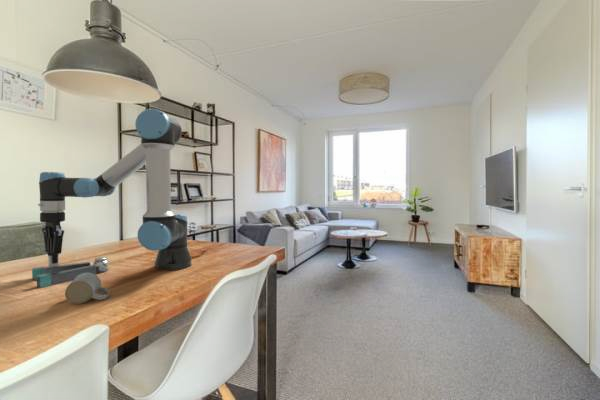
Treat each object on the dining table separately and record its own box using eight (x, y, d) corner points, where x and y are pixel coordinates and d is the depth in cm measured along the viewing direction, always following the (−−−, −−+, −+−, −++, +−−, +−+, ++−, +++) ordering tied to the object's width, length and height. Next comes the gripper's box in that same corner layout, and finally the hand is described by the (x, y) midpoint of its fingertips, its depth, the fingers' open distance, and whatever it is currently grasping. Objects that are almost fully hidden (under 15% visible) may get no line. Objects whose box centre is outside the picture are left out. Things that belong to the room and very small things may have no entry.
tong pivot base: (104, 269, 124) (103, 258, 123) (112, 271, 121) (111, 260, 120) (32, 284, 103) (32, 272, 103) (40, 287, 100) (39, 275, 100)
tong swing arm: (105, 268, 124) (105, 255, 124) (107, 271, 120) (106, 258, 120) (33, 277, 110) (32, 264, 110) (31, 281, 106) (31, 267, 106)
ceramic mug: (63, 307, 84) (63, 280, 84) (72, 297, 92) (72, 273, 92) (106, 302, 88) (106, 277, 88) (112, 293, 96) (112, 270, 96)
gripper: (33, 211, 114) (34, 270, 115) (47, 213, 107) (48, 276, 108) (56, 210, 120) (57, 266, 121) (71, 212, 114) (72, 271, 115)
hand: (53, 271), depth 115 cm, fingers closed
